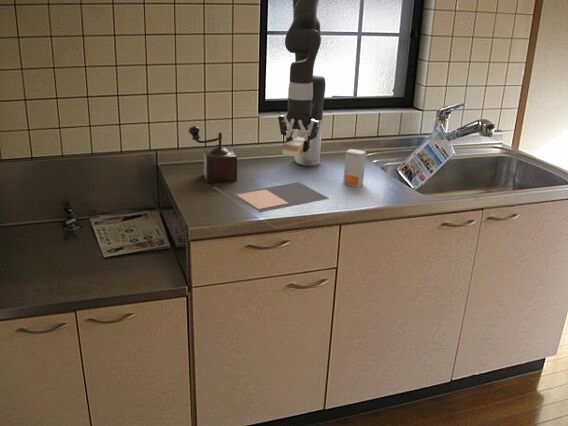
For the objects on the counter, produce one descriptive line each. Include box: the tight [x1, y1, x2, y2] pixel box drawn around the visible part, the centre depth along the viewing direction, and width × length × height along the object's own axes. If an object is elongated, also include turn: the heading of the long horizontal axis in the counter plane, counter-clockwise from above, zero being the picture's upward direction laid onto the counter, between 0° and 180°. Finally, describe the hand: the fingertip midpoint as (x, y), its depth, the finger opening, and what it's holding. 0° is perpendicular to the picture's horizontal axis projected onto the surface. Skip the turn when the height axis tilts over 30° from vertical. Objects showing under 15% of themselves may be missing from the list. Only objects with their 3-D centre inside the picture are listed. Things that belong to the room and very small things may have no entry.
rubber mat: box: [232, 181, 330, 213], centre depth 196 cm, size 18×26×1 cm
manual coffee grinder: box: [188, 125, 238, 185], centre depth 208 cm, size 16×11×18 cm
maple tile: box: [282, 137, 313, 157], centre depth 191 cm, size 11×5×3 cm, turn 152°
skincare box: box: [342, 148, 367, 188], centre depth 209 cm, size 6×4×12 cm
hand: (297, 150), depth 192 cm, fingers closed on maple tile, 5 cm apart
